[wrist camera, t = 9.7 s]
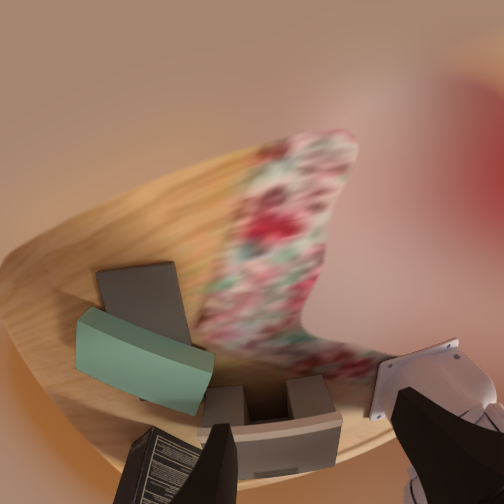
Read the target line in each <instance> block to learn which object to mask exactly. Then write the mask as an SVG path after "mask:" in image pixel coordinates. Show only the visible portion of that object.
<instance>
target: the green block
mask: <svg viewBox="0 0 504 504" xmlns="http://www.w3.org/2000/svg"><path fill="white" fill-rule="evenodd" d="M214 359H215V354H214V353H211V352H208V351H204V350H201V349H198V348H195V347H192V346H189V345H187V344H184V343H181V342H178V341H175V340H172V339H170V338H167V337H164V336H162V335H159V334H156V333H154V332H151V331H149V330H146V329H144V328H141V327H139V326H136V325H134V324H131V323H129V322H126V321H124V320H122V319H119V318H117V317H115V316H112V315H110V314H108V313H106V312H104V311H101V310H99V309H97V308H95V307H93V306H92V307H90V308H89V309H88V310H87V311H86V312H85V313H84V314H83V315H82V316H81V317H80V318H79V319H78V320H77V331H76V356H75V369H77V370H79V371H81V372H83V373H85V374H87V375H89V376H91V377H93V378H95V379H97V380H99V381H101V382H104V383H106V384H108V385H110V386H112V387H115V388H117V389H119V390H122V391H124V392H127V393H129V394H131V395H134V396H137V397H139V398H142V399H144V400H147V401H150V402H152V403H155V404H158V405H161V406H164V407H167V408H170V409H173V410H176V411H179V412H182V413H186V414H189V415H192V416H195V415H196V412H197V410H198V408H199V405H200V403H201V400H202V398H203V396H204V393H205V391H206V388H207V386H208V384H209V381H210V379H211V376H212V374H213V367H214Z"/></svg>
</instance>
